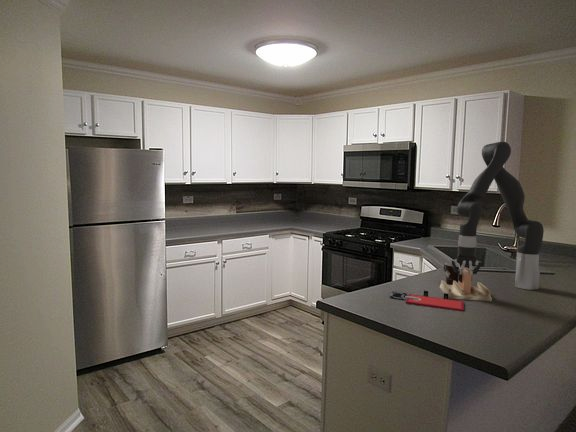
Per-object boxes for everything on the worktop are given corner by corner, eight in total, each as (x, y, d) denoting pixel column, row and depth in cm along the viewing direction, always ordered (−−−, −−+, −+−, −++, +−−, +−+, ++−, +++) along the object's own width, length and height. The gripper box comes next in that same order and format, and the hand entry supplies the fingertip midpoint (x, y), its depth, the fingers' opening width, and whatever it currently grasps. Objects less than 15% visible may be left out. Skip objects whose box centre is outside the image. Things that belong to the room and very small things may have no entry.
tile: (470, 293, 176) (471, 274, 175) (463, 293, 176) (464, 273, 176) (464, 287, 186) (465, 269, 185) (457, 287, 186) (459, 268, 185)
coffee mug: (464, 287, 192) (465, 267, 191) (445, 285, 194) (446, 266, 193) (459, 281, 204) (460, 262, 203) (441, 280, 205) (442, 261, 204)
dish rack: (479, 289, 188) (479, 281, 188) (491, 301, 171) (492, 292, 170) (439, 287, 191) (440, 279, 191) (448, 298, 174) (448, 289, 173)
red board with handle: (392, 292, 183) (387, 302, 169) (393, 286, 182) (388, 295, 169) (463, 301, 171) (463, 313, 157) (463, 295, 171) (464, 306, 157)
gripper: (452, 246, 176) (450, 283, 178) (486, 247, 174) (483, 285, 175) (449, 243, 184) (446, 279, 185) (481, 244, 181) (478, 281, 183)
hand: (464, 282), depth 180 cm, fingers closed on tile, 3 cm apart
